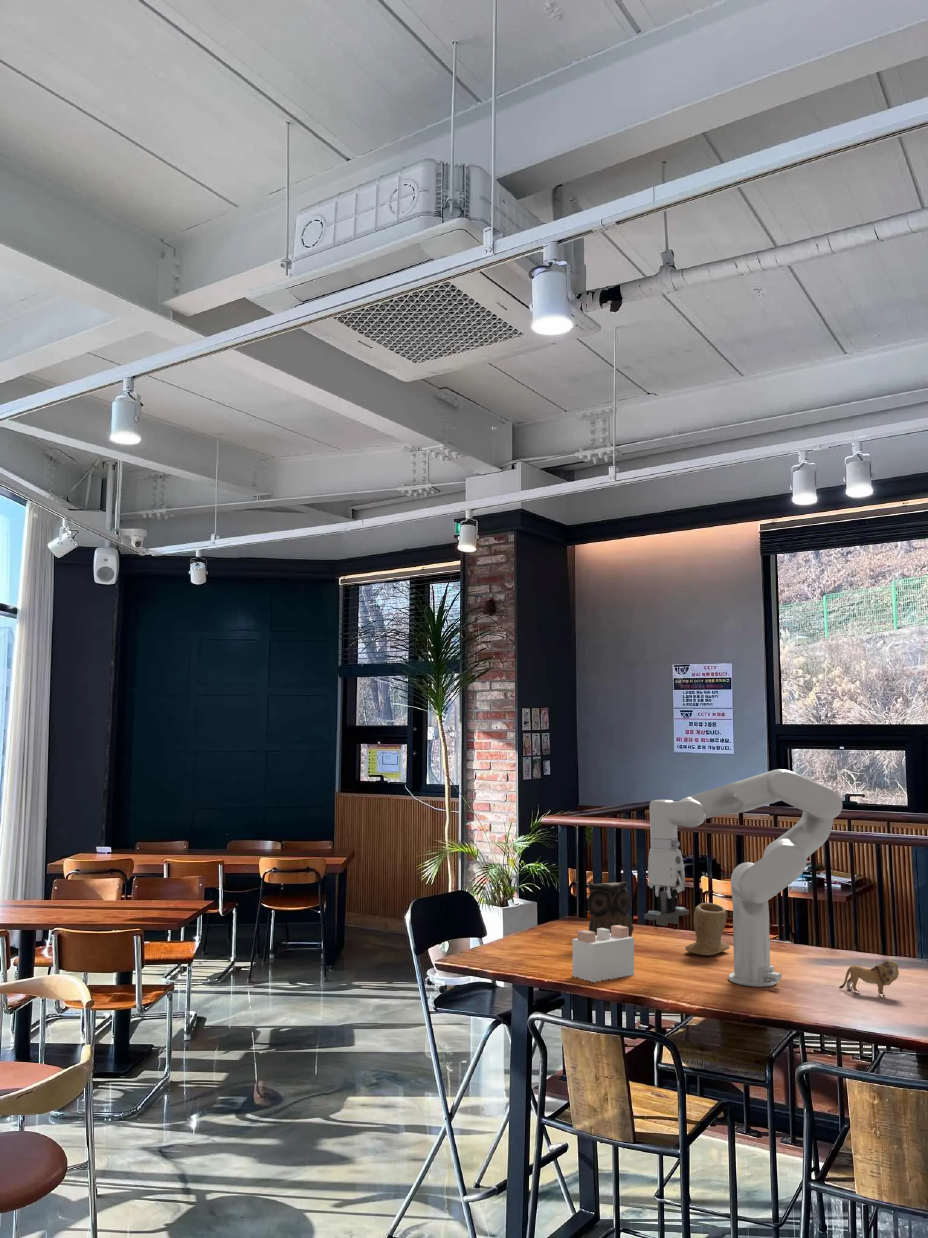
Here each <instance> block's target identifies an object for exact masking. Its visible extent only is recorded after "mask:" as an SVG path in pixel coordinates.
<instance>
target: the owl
mask: <svg viewBox="0 0 928 1238" xmlns="http://www.w3.org/2000/svg"><path fill="white" fill-rule="evenodd" d="M627 886H628V882H627V881H623V882H622V881H620V882H603V883H589V884H588V890H589V891H588V892H589V895H588V897H587V910H588V913H589V914H590V915H589V916H590V921H589V925H588V931H592V932H595V936H596V935H597V929H598V928H605V929H609V930H610V933H611V926H615V925H621V926H625V927H629V937H633V931H634V930H635V928H634V925H633V924H632V923H633V919H632V918H631V916H630V915H629V910H630V909H631V907H632V899H631V894H630V893H629V891H628V888H627Z"/></svg>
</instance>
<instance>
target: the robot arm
mask: <svg viewBox="0 0 928 1238" xmlns="http://www.w3.org/2000/svg"><path fill="white" fill-rule="evenodd" d="M781 801H782V802H783V803H786V804H788V805H790V806H792V807H794V808H795V809H799V810H800V811H802V815H801V817H800V819H799V820H798V822H797V823H795V824H794V825H793V826H792V827H790V829H788V830H787V831H786V832H785V833H783V834H781V835H780V836H779V837H778V838H776V839H775V840H773V841H771V842H770V843H769V844H768V845H767V846H766V847H765V849H764V850H763V851H764V852H763V857H762V858H760V859H759V860H758V861H756V862H754V863H753V862H749V861H748V862H741V863H740V864H738V865H737V866H736V867H735V868H734V869H733V871H732V873H731V877H730V887H731V888H730V889H731V899H732V901H731V902H732V920H733V921H732V927H733V928H732V931H733V934H732V935H733V938H732V939H733V972H731V973H729V974H728V980H729V981H730V982H731V983H735V984H737V985H742V986H747V987H754V988H755V987H757V988H758V987H760V988H762V987H763V988H764V987H766V988H767V987H772V986H775V985H776V984H777V983H780V981H781V979H782V977H783V976H782V975H783V974H782V973H780V972H775V968H774V966H773V965H771V950H770V949H771V945H770V939H771V938H770V911H769V908H770V907H769V901H770V900H771V899H773V897H775V896H776V895H778V894H779V893H781V892H782V891H783V890H784V889H786V888H787V887H788V886H790V884H792V883H793V882H795V881H797V879H798V878H799V877H800V876H801V875H802V874H803V873H804V871H805V869H806V866H807V859H808V858H809V857H810V856H812V855H813V854H814V853H815V852H816V851H817V850H818V849H819V848H820V847H822V846H823V845H824V844H825V842H826V841H827V840H828V839H829V836H830V834H831V833H832V829H833V825H834V819H836V817H838V816H839V815H841V812H842V811H843V801H842V798H841V796H840V795H839V794H838V792H836V790H833V789H831V788H829V787H827V786H825V785H823V784H820V783H818V782H816V781H813V780H812V779H811V780H810V779H809V778H806V777H804V776H803V775H800V774H798V773H797V772H794V771H791V770H788V769H781V768H778V769H772V770H770V771H766V772H763V773H760V774H757V775H754V776H751V777H746V778H744V779H741V780H737V781H735V782H731V783H728V784H725V785H723V786H719V787H716V788H712V789H709V790H706V791H705V790H704V791H703V792H700V793H696V794H693V795H690V796H686V797H683V798H682V799H680V800H679V801H674V800H672V799H654V800H651V801H650V802H649V809H648V810H649V827H650V828H649V832H650V834H649V835H650V849H649V852H648V860H647V862H648V863H647V876H648V881H647V886H648V887H649V888H650V889H652V890H653V892H654V894H655V897H656V898H657V911H661V901H660V891H667V897H668V898H666V912H667V913H674V912H676V907H677V905H676V898H677V897H678V896H679V894H681V892H684V891H685V890H686V888H685V884H686V874H685V866H684V859H683V855H682V851H681V850H680V849H679V847H680V846H681V842H680V841H679V840H678V839H679V838H678V837H679V836H678V826H680V827H681V826H682V827H687V828H688V827H689V828H694V827H695V828H696V827H698V826H700V825H702V824H703V823H704V822H705V820H706V819H710V818H713V817H716V816H721V815H727V814H740V813H746V812H749V811H752V810H755V809H758V808H761V807H764V806H768V805H771V804H775V803H777V802H781Z"/></svg>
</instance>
